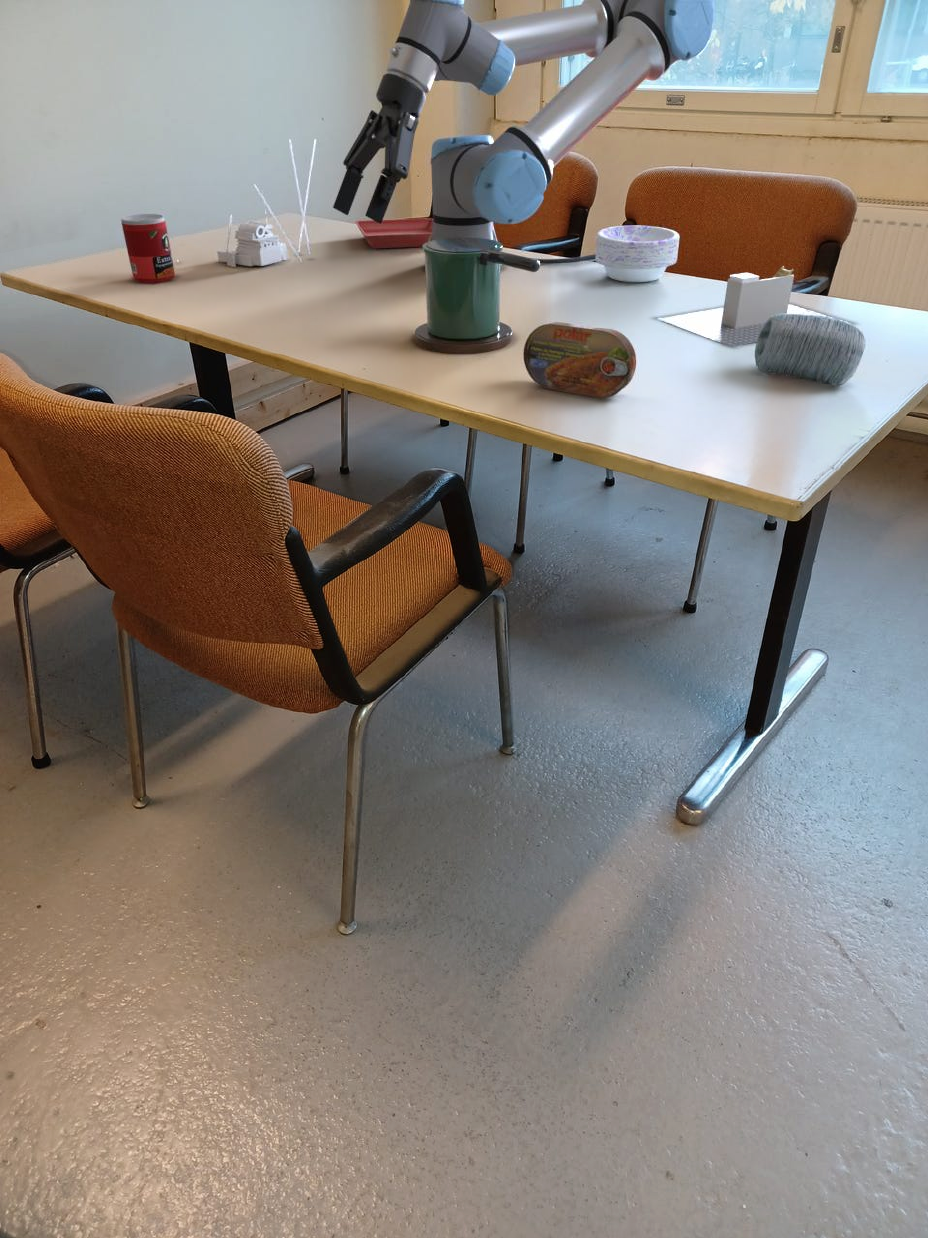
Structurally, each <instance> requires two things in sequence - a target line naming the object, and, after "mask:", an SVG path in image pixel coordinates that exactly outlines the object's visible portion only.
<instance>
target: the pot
mask: <svg viewBox="0 0 928 1238" xmlns="http://www.w3.org/2000/svg"><path fill="white" fill-rule="evenodd" d="M422 252H423V253H424V265H425V266H424V268H425V271H424V272H425V299H426V302H425V303H426V323H427V330H428V332H429V333H430V334H432V335H435V336H438V337H442V338H448V339H476V338H483V337H487V336H491V335H493V334H495V333H497V332H498V331H499V322H500V314H501V313H500V311H501V309H500V307H501V306H500V304H501V302H500V301H501V291H500V290H501V289H500V288H501V268H500V264H502V265H503V266H507V267H511V268H514V269H517V270H518V269H519V270H523V271H527V272H530V273H537V272H538V271H539V270H540V268H541V264H540V263H539V261H538V260H536V259H537V258H534V259H531V258H532V257H526V256H522V255H518V254H513V253H509V252H505V251H503V244H502V242H500V241H498V240H497V241H495V240H490V239H484V238H468V237H461V238H445V239H438V240H433V241H430V242H427V243H425V244H424V245H423V246H422Z"/></svg>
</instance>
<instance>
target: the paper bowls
mask: <svg viewBox="0 0 928 1238" xmlns="http://www.w3.org/2000/svg"><path fill="white" fill-rule="evenodd" d="M595 241H596V242H595V254H596V255H595V259H594V260H595V262H596V263H597V264H599V265H601V266H603V268H604V270H605V273H606V275H607V276H608V277H609V278H611V280H615V281H618V282H625V283H649V282H653V281H656V280H658V279H659V278H661V277H662V276H663V275H664V273H665V271H666V270H667V268H668V267H670V266H673V265H675V264H676V263H677V261H678V255H679V254H678V253H679V244H680V234H679V233H678V232H677V231H675V230H674V229H669V228H665V227H660V226H652V225H639V224H638V225H636V224H635V225H618V226H617V225H616V226H610V227H606V228H603V229H600V230H599V231H597V232H596V239H595Z"/></svg>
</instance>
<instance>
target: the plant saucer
mask: <svg viewBox="0 0 928 1238" xmlns="http://www.w3.org/2000/svg"><path fill="white" fill-rule="evenodd" d="M355 224H356V226H357V227H358V229H359V231H360V232H361V234H362V235H363V237H364V238H365V240H366V242H367V243H368V244H369V246H370V247H371V248H372V249H391V248H394V249H396V248H417V247H418V248H420V247H421V248H423V245H424V244H425V243H427V242H428V241H429V237H431V233H432V229H433V218H431V217H429V218H425V217H423V218H401V219H383V220H382V223H381V224H380V223H378V222H376V221H374V220H372V219H370V220H356V221H355Z"/></svg>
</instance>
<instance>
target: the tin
mask: <svg viewBox="0 0 928 1238" xmlns="http://www.w3.org/2000/svg"><path fill="white" fill-rule="evenodd" d="M523 363H524V367H525V370H526V372H527V374H528V375H529V377H530V378H531V380H533V382H535V384H537V385H538V386H540V387H542V388H544V389H546V390H550V391H557V392H564V393H567V394H568V393H569V394H575V395H579V396H584V397H585V396H586V397H591V398H597V399H607V398H611V397H613V396H616V395H617V394H618V393H620V392H621V391H622V390H623V389H625V388H626V387H627V386H628V385H629V384H630V383H631V381H632V380H633V378H634V375H635V373H636V368H637V356H636V350H635V347H634V346H633V344H632V343H631V341H630V340H629V338H628V337H627V336H625V335H624V334H623V333H622V332H620V331H618V330H616V329H613V328H607V327H597V326H590V325H583V324H575V323H568V322H562V321H554V322H550V323H549V322H548V323H546V324H542V325H539V326H538V327H536V328H535V329H533V331H531V332H530V334H529V335H528V337H527V338H526V340H525V344H524V347H523Z"/></svg>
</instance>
